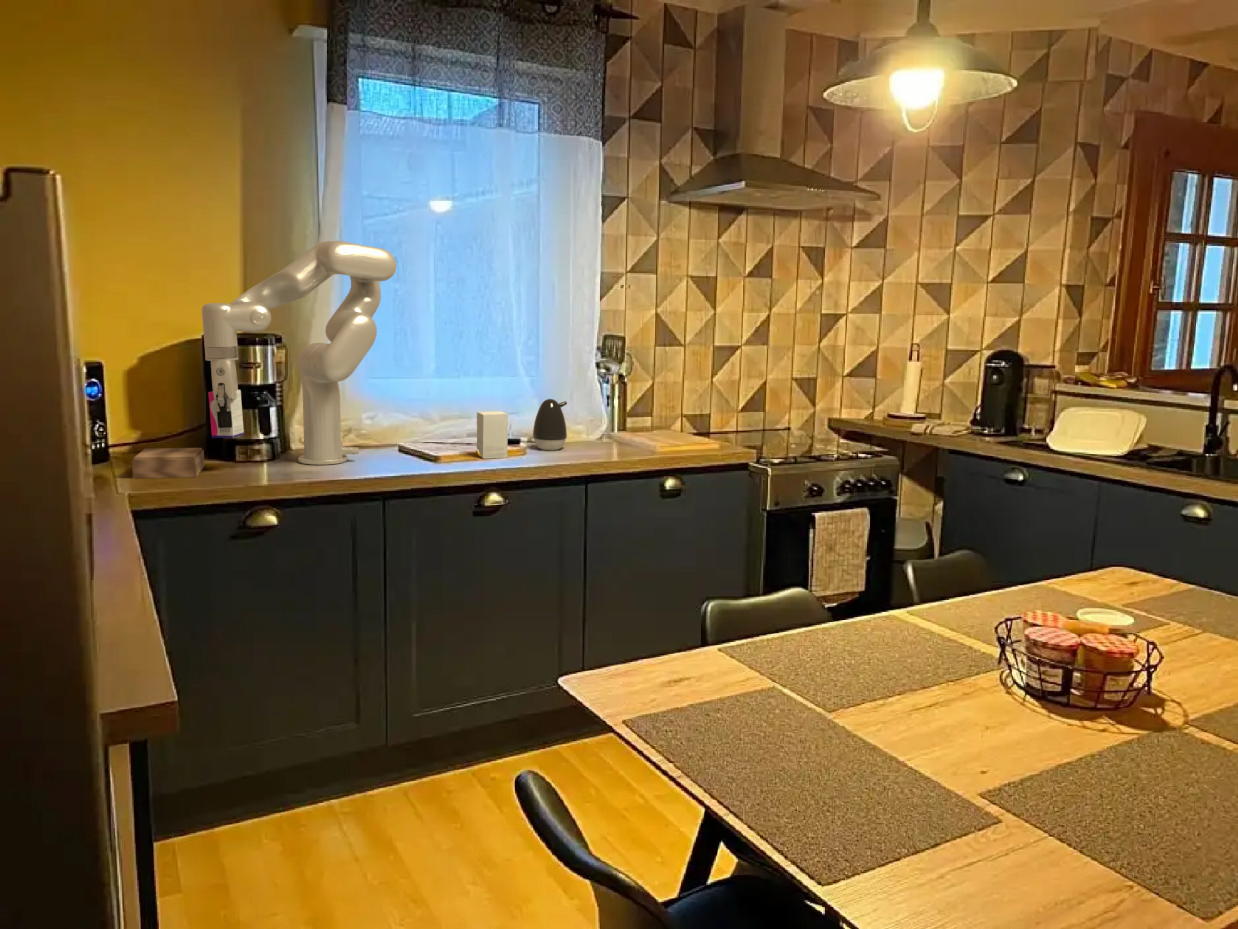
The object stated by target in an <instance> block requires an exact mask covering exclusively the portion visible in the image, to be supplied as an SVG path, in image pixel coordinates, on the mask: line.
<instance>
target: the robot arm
mask: <svg viewBox="0 0 1238 929" xmlns="http://www.w3.org/2000/svg"><path fill="white" fill-rule="evenodd" d="M396 270H397V262H396V259H395V257H394V255H393V254H392V253H391V252H390V251H389V250H387V249H384V248H381V247H374V246H369V245H363V244H357V243H352V242H350V241H349V242H347V241H341V240H330V241H329V240H328V241H326V240H325V241H321V242H319V243H317V244H315V245H314V246H312V247H311V248H310V249H308V250H307V251H305V252H303V254H301V255H300V256H299V257H297V258H296V259H294V261H292V262H291V263H289V264H288V265H287V266H284V268H282V269H281V270H280V271H278V272H276V273H274V274H272V275H271V276H269V277H268V278H265V279H264V280H262V281H261V282H259V283H257V284H255V285H254V286H252V287H250V288H249V289H248V290H246V291H245V292H243V293H241V295H239V296H238V297H236V298H235V299H233V301H232V302H230V303H228V302H211V303H210V302H209V303H205V304H203V305H202V308H201V316H202V317H201V318H202V319H201V320H202V330H203V341H204V343H203V344H204V354H205V356H204V357H205V361H209V362H210V370H211V384H212V391H213V395H214V399H215V400H216V401H217V420H218V427H219V428H231V427H232V416H231V411H230V401H229V399H232V400H233V401H234V400H235V399H236V398H237V390H239V388H238V387H239V386H238V385H239V384H238V376H237V375H238V374H237V368H236V361H238V360H239V346H238V345H239V344H238V336H237V335H238V334H237V333H238V332H243V333H244V332H246V333H261V332H262V331H263V332H264V331H265V330H266V329H268V327H269V326H270V324H271V322H272V314H271V311H273V310H274V309H276V308H278V307H281V306H283V305H285V304H290V303H293V302H297V301H299V300H301V299H304V298H305V297H307V296H308V295H309V294H310V293H311V292H313V291H314V290H315V289H317V288H318V287H319V286H321V285H322V284H323V283H325V281H327V280H328V279H329V278H331V277H333V276H334V275H343V276H349V278H350V289H349V291H348V293H347V294H346V296H345V298H344V300H342V302H341V303H340V305H339V306H338V308H337V309H336V310H335V312H334V313H332V316H331V317H330V318H329V320H328V321H327V323H326V326H325V331H324V332H325V336H326V338H327V340H328V341H329V342H330V343H325V342H314V343H310V344H308V345H306V346H304V348H303V349H302V350H301V351H300V354H299V358H298V371H299V376H300V381H301V390H302V392H301V393H302V412H303V413H302V416H303V418H302V420H303V422H302V423H303V426H302V427H303V448H304V449H303V453H304V454H303V455H300V456H298V458H297V459H298V463H301V464H305V465H322V466H323V465H336V464H341V463H346V462H347V461H348V456H347V455H359V447H358V446H357V447H355V446H345V445H343V442H342V434H341V432H342V430H341V429H342V427H341V394H340V392H341V391H340V386H339V382H342V381H345V380H348V378H349V377H351V376H352V374H353V373H354V372H355V371H356V370H357V367H358V366H359V365H360V364H361V362H363V360H364V359H365V357H366V355H367V354H368V352H369V351H370V349H371V348H372V347H373V345H374V343H375V341H376V338H377V332H378V331H377V329H378V328H377V325H376V323H375V320H374V319H373V317H374V315H375V313H376V312H377V310H378V308H379V306H380V303H381V300H382V293H381V292H382V291H381V290H382V289H381V282H384V281H388V280H390V279H391V278H392V277H393V276H394V274H395V273H396ZM216 395H217V398H216ZM226 396H227V399H224V397H226Z"/></svg>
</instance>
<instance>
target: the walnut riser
mask: <svg viewBox="0 0 1238 929" xmlns="http://www.w3.org/2000/svg"><path fill="white" fill-rule="evenodd" d="M204 453H205V451H204V449H203V448H202V447H175V448H174V447H173V448H171V447H170V448H169V447H168V448H167V447H165V448H163V447H162V448H144V449H143V450H141V451H140V452H139V453H138V454H137V455H135V456H133V459H131V466H132V467H131V468H132V469H131V471H132V479H162V478H164V479H167V478H168V479H169V478H172V479H173V478H197V477H198V475H199V474H200V473H201V472H202V470H204V468H205V454H204ZM199 472H200V473H199Z"/></svg>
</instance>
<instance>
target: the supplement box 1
mask: <svg viewBox="0 0 1238 929" xmlns="http://www.w3.org/2000/svg"><path fill="white" fill-rule="evenodd" d="M207 393H208V394H207V395H208V402H209V403H208V404H209V405H208V406H209V415H210V425H211V426H210V429H211V438H212V439H217V438H218V439H221V438H222V439H226V438H227V439H235V438H238V437H241V436H243V435H244V434H245V430H244V420H243V417H244V416H243V406H242V391H241V389H238V390H237V398H236V399H235V400H234V401H233V400H232V399H229V401H230V411H231V416H232V427H231V428H219V427H218V420H217V401H216V400H215V399H214V395H213V390H212V391H209V392H207ZM216 398H217V395H216ZM224 399H227V396H226V397H224Z"/></svg>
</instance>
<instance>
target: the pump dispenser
mask: <svg viewBox="0 0 1238 929" xmlns="http://www.w3.org/2000/svg"><path fill="white" fill-rule="evenodd" d="M567 404H568V403H567V401H566V400H565V401H562V402H559V403H558V401H557V400H555V399H552V398H547V399H545V400H544V401H543V402H542V403H541V405H540V406H539V408H538V411H537V413H536V416H535V420H534V424H533V429H532V438H533V440H534V441H533V442H534V444H535V445H536V447H537V448H538V449H541V450H542V451H552V452H553V451H558V450H560V449H562V447H563V446H564V445H565V442H566V439H567V437H568V434H567V433H568V432H567V431H568V430H567V424H566V419H565V416H564V413H563V411H562V408H563V407H564V406H566V405H567Z"/></svg>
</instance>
